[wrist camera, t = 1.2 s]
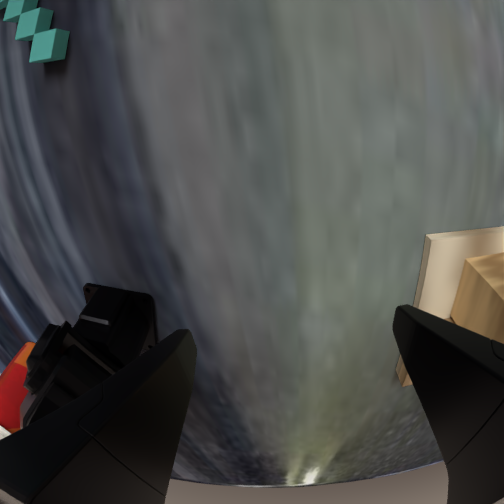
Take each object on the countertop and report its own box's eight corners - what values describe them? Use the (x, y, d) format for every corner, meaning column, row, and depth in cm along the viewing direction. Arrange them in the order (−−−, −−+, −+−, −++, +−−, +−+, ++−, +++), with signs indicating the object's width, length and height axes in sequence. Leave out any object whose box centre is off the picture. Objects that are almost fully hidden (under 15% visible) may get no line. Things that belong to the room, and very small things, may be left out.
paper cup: (40, 374, 32) (2, 449, 19) (10, 334, 28) (-40, 411, 16) (76, 378, 31) (37, 467, 19) (43, 335, 27) (-11, 427, 15)
